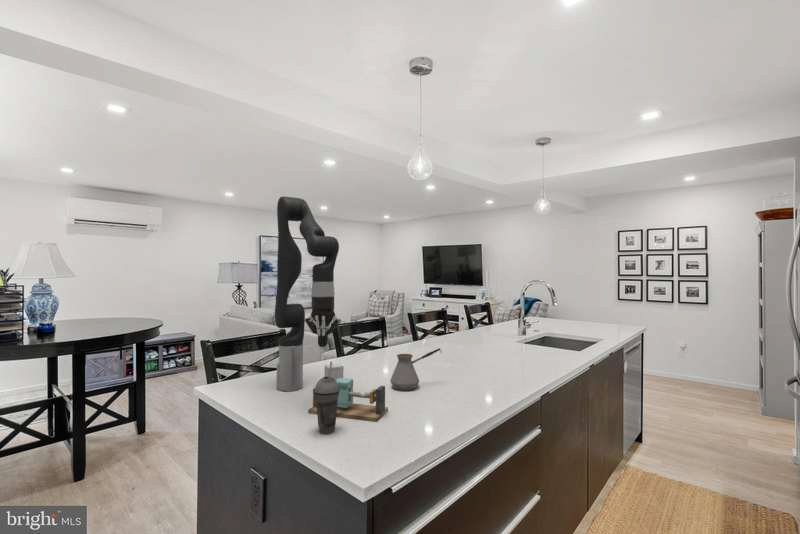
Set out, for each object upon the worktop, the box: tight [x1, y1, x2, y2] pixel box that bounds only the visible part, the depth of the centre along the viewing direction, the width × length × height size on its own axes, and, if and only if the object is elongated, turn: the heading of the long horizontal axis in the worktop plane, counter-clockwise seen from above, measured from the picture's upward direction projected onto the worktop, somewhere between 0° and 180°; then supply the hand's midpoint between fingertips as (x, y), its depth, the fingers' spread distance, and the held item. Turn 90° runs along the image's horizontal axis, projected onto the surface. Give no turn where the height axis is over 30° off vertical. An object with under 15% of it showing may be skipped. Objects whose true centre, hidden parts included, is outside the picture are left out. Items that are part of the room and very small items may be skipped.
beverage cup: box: [314, 361, 340, 435], centre depth 113 cm, size 7×7×20 cm
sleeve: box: [336, 377, 354, 408], centre depth 129 cm, size 5×5×8 cm
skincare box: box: [324, 363, 344, 380], centre depth 142 cm, size 6×4×12 cm
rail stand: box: [307, 385, 389, 423], centre depth 128 cm, size 24×10×9 cm, turn 72°
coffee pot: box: [390, 347, 443, 391], centre depth 156 cm, size 21×12×15 cm, turn 104°
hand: (322, 346), depth 131 cm, fingers closed
